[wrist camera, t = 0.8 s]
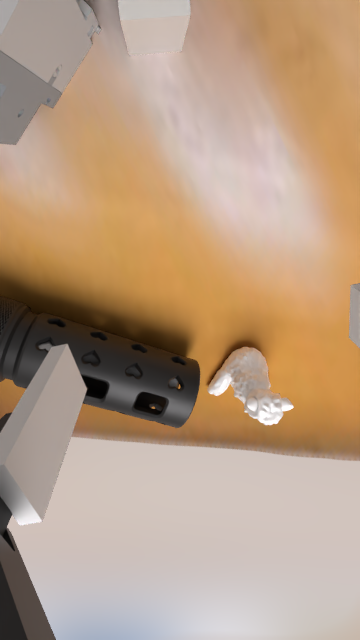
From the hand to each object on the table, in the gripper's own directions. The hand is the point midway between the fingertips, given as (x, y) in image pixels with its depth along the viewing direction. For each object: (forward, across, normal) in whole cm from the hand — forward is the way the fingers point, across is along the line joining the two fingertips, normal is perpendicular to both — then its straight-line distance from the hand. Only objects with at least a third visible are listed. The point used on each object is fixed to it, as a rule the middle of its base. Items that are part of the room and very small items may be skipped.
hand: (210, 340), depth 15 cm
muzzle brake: (+26, +16, +12) cm, 33 cm away
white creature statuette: (+27, -4, +21) cm, 34 cm away
